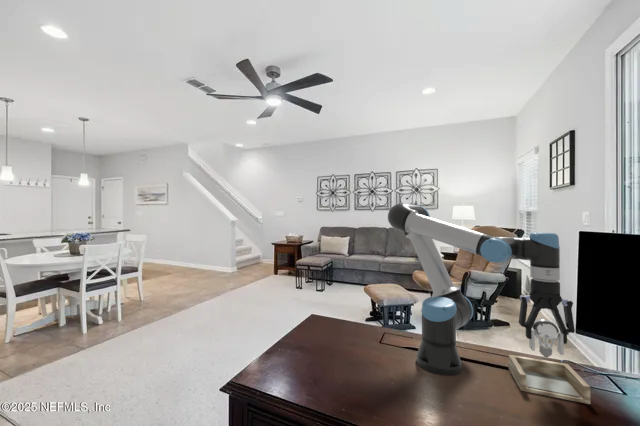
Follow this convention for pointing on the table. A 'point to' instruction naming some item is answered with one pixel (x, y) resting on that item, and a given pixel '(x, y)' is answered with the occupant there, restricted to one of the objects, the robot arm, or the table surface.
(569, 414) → the table surface
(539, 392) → the shallow wooden tray
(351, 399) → the table surface
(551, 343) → the light bulb
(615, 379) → the table surface
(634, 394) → the table surface
